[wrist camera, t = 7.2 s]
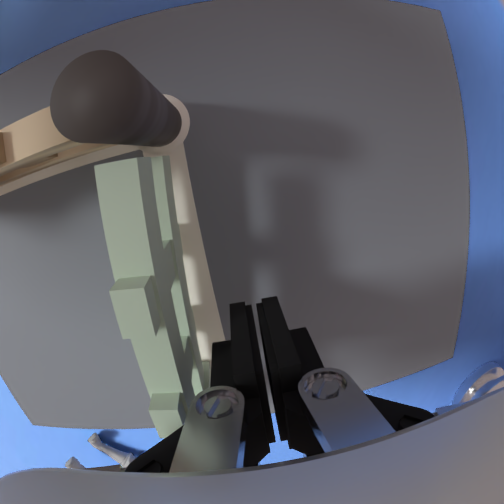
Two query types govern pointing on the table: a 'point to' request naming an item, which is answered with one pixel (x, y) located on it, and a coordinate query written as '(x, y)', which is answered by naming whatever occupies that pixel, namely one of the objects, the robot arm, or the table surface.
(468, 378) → the grooved metal pulley
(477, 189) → the table surface
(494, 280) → the table surface
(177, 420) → the fence swing section
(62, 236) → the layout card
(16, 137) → the fence fixed section
